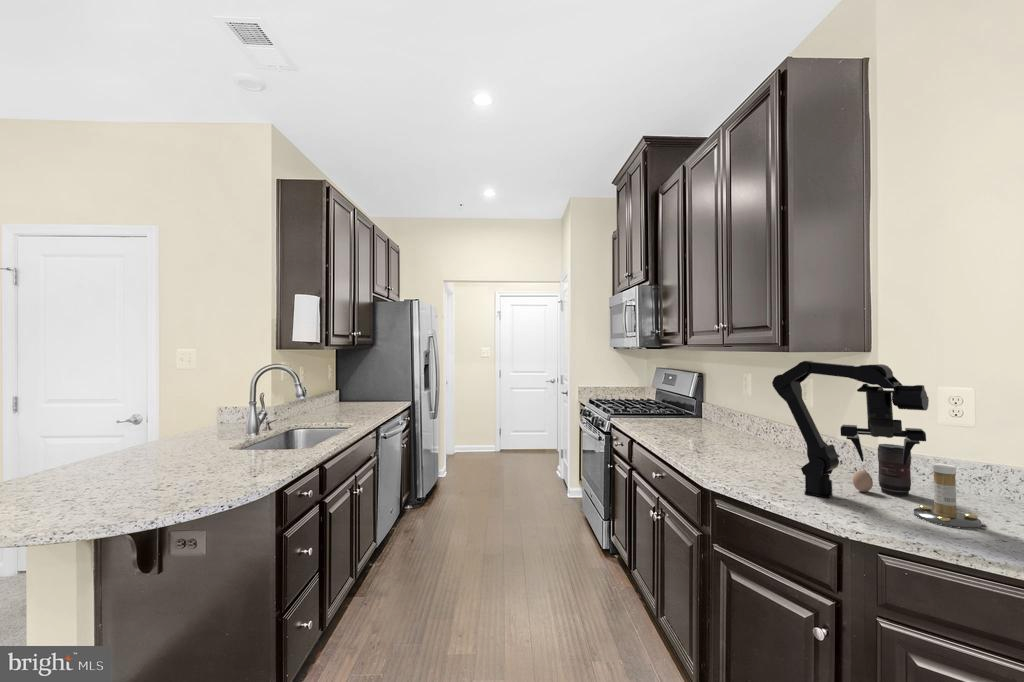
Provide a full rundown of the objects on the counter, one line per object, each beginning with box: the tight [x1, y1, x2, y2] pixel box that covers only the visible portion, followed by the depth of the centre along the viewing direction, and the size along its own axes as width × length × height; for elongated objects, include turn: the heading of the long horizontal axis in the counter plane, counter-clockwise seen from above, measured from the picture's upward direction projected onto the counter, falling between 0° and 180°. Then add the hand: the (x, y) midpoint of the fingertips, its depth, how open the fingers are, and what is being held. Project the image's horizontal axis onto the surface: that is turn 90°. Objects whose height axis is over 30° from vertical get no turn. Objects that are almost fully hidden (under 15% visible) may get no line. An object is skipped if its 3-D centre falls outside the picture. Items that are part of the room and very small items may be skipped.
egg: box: [852, 469, 874, 493], centre depth 145 cm, size 5×5×7 cm
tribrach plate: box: [913, 504, 983, 529], centre depth 121 cm, size 13×13×2 cm
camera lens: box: [877, 443, 912, 497], centre depth 144 cm, size 8×8×15 cm
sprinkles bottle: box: [932, 462, 957, 518], centre depth 121 cm, size 5×5×14 cm
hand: (882, 463), depth 129 cm, fingers open, 9 cm apart
